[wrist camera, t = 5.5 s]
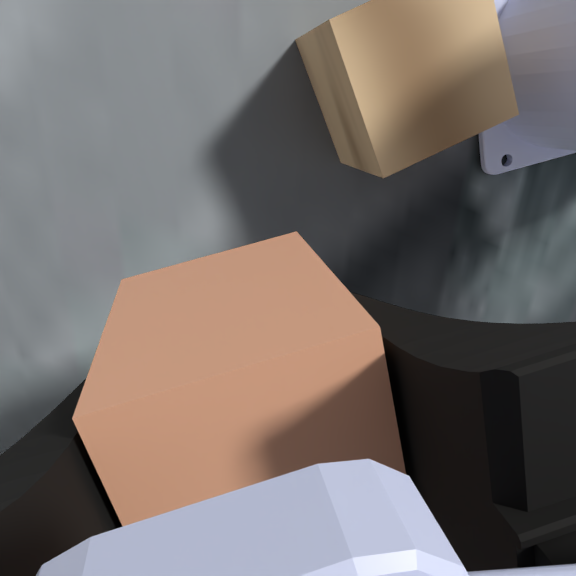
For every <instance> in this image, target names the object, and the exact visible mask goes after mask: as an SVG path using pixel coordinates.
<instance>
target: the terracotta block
mask: <svg viewBox="0 0 576 576" xmlns="http://www.w3.org/2000/svg"><path fill="white" fill-rule="evenodd" d="M72 419H73V422H74V424H75V426H76V428H77V430H78V432H79V434H80V437H81V439H82V441H83V443H84V445H85V447H86V449H87V451H88V454H89V456H90V458H91V460H92V462H93V464H94V466H95V469H96V471H97V473H98V475H99V477H100V479H101V481H102V484H103V486H104V488H105V490H106V492H107V494H108V496H109V499H110V501H111V503H112V505H113V507H114V509H115V511H116V513H117V516H118V518H119V520H120V522H121V524H122V526H126V525H129V524H132V523H135V522H139V521H142V520H145V519H148V518H151V517H154V516H157V515H160V514H163V513H166V512H170V511H173V510H176V509H179V508H182V507H185V506H188V505H191V504H194V503H197V502H201V501H204V500H207V499H210V498H213V497H216V496H219V495H222V494H225V493H228V492H232V491H235V490H238V489H241V488H244V487H247V486H250V485H253V484H256V483H259V482H263V481H266V480H269V479H272V478H275V477H278V476H281V475H284V474H287V473H290V472H294V471H297V470H300V469H303V468H306V467H309V466H312V465H315V464H320V463H330V462H341V461H351V460H361V459H371V460H373V461H376V462H378V463H380V464H383V465H385V466H387V467H390V468H392V469H394V470H397V471H399V472H401V473H404V474H406V471H405V465H404V460H403V454H402V448H401V443H400V437H399V431H398V426H397V420H396V414H395V408H394V403H393V397H392V391H391V386H390V380H389V374H388V369H387V363H386V357H385V352H384V346H383V340H382V335H381V329H380V326H379V325H378V324H377V323H376V321H375V320H374V319H373V318H372V317H371V316H370V315H369V313H368V312H367V311H366V310H365V309H364V308H363V307H362V305H361V304H360V303H359V302H358V301H357V300H356V299H355V297H354V296H353V295H352V294H351V293H350V292H349V291H348V289H347V288H346V287H345V286H344V285H343V284H342V283H341V281H340V280H339V279H338V278H337V277H336V276H335V275H334V273H333V272H332V271H331V270H330V269H329V268H328V267H327V266H326V264H325V263H324V262H323V261H322V260H321V259H320V258H319V256H318V255H317V254H316V253H315V252H314V251H313V250H312V248H311V247H310V246H309V245H308V244H307V243H306V242H305V240H304V239H303V238H302V237H301V236H300V235H299V234H298V232H297V231H296V232H292V233H289V234H285V235H282V236H278V237H274V238H271V239H267V240H263V241H260V242H256V243H252V244H249V245H245V246H242V247H238V248H234V249H231V250H227V251H223V252H220V253H216V254H212V255H209V256H205V257H202V258H198V259H194V260H191V261H187V262H183V263H180V264H176V265H172V266H169V267H165V268H162V269H158V270H154V271H151V272H147V273H143V274H140V275H136V276H133V277H129V278H125V279H122V280H121V283H120V286H119V288H118V291H117V294H116V297H115V300H114V302H113V305H112V308H111V311H110V314H109V316H108V319H107V322H106V325H105V328H104V330H103V333H102V336H101V339H100V342H99V345H98V347H97V350H96V353H95V356H94V359H93V361H92V364H91V367H90V370H89V373H88V375H87V378H86V381H85V384H84V387H83V389H82V392H81V395H80V398H79V401H78V403H77V406H76V409H75V412H74V415H73V417H72Z"/></svg>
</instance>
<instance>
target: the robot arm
mask: <svg viewBox="0 0 576 576" xmlns="http://www.w3.org/2000/svg"><path fill="white" fill-rule="evenodd" d="M494 3H495V8H496V12H497V17H498V21H499V26H500V30H501V35H502V39H503V44H504V48H505V53H506V57H507V62H508V66H509V71H510V75H511V80H512V84H513V89H514V93H515V98H516V102H517V107H518V111H519V115H517V116H515V117H513V118H511V119H509V120H506V121H504V122H502V123H500V124H498V125H496V126H494V127H492V128H489V129H487V130H485V131H483V132H481V133H479V134H478V135H479V146H480V158H481V167H482V170H483V171H484V172H485V173H487V174H491V175H497V174H501V173H504V172H508V171H511V170H515V169H519V168H522V167H526V166H530V165H533V164H537V163H540V162H544V161H548V160H551V159H555V158H559V157H562V156H566V155H569V154H573V153H576V0H494ZM504 155H506V156H507V161H506V163H505V164H504V165H502V163H501V160H502V157H503V156H504ZM351 294H352V295H353V296H354V297H355V299H356V300H357V301H358V302H359V303H360V304H361V305H362V307H363V308H364V309H365V310H366V311H367V312H368V313H369V315H370V316H371V317H372V318H373V319H374V320H375V321H376V323H377V324H378V325H379V326H380V329H381V335H382V340H383V346H384V352H385V357H386V363H387V369H388V374H389V380H390V386H391V391H392V397H393V403H394V408H395V414H396V420H397V426H398V431H399V437H400V443H401V448H402V454H403V460H404V465H405V471H406V474H404V473H401V472H399V471H397V470H394V469H392V468H390V467H387V466H385V465H383V464H380V463H378V462H376V461H373V460H371V459H361V460H351V461H341V462H330V463H320V464H315V465H312V466H309V467H306V468H303V469H300V470H297V471H294V472H290V473H287V474H284V475H281V476H278V477H275V478H272V479H269V480H266V481H263V482H259V483H256V484H253V485H250V486H247V487H244V488H241V489H238V490H235V491H232V492H228V493H225V494H222V495H219V496H216V497H213V498H210V499H207V500H204V501H201V502H197V503H194V504H191V505H188V506H185V507H182V508H179V509H176V510H173V511H170V512H166V513H163V514H160V515H157V516H154V517H151V518H148V519H145V520H142V521H139V522H135V523H132V524H129V525H126V526H122V524H121V522H120V520H119V518H118V516H117V513H116V511H115V509H114V507H113V505H112V503H111V501H110V499H109V496H108V494H107V492H106V490H105V488H104V486H103V484H102V481H101V479H100V477H99V475H98V473H97V471H96V469H95V466H94V464H93V462H92V460H91V458H90V456H89V454H88V451H87V449H86V447H85V445H84V443H83V441H82V439H81V437H80V434H79V432H78V430H77V428H76V426H75V424H74V422H73V419H72V417H73V415H74V412H75V409H76V406H77V403H78V401H79V398H80V395H81V392H82V389H83V387H84V384H85V381H86V379H85V380H84V381H83V382H82V383H81V384H80V385H79V386H78V387H77V388H76V389H75V390H74V391H73V392H72V393H71V394H70V395H69V396H68V397H67V398H66V399H65V400H63V401H62V402H61V403H60V404H59V405H58V406H57V407H56V408H55V409H54V410H53V411H52V412H51V413H50V414H49V415H47V416H46V417H45V418H44V419H43V420H42V421H41V422H40V423H39V424H37V425H36V426H35V427H34V428H33V429H32V430H31V431H30V432H28V433H27V434H26V435H25V436H24V437H23V438H22V439H20V440H19V441H18V442H17V443H16V444H14V445H13V446H12V447H11V448H9V449H8V450H7V451H6V452H4V453H3V454H2V455H0V576H576V322H564V323H545V324H511V323H488V322H476V321H467V320H460V319H452V318H446V317H440V316H435V315H430V314H426V313H421V312H417V311H413V310H409V309H405V308H402V307H398V306H395V305H391V304H388V303H385V302H382V301H378V300H375V299H372V298H369V297H366V296H362V295H359V294H355V293H351Z"/></svg>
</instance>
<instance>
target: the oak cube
mask: <svg viewBox="0 0 576 576" xmlns="http://www.w3.org/2000/svg"><path fill="white" fill-rule="evenodd" d="M295 41H296V44H297V46H298V49H299V52H300V54H301V57H302V60H303V62H304V65H305V68H306V70H307V73H308V76H309V79H310V81H311V84H312V87H313V89H314V92H315V95H316V97H317V100H318V103H319V105H320V108H321V111H322V113H323V116H324V119H325V121H326V124H327V127H328V130H329V132H330V135H331V138H332V140H333V143H334V146H335V148H336V151H337V154H338V156H339V159H340V162H341V163H343V164H345V165H348V166H351V167H354V168H356V169H359V170H362V171H365V172H367V173H370V174H373V175H376V176H378V177H381V178H385V177H388V176H390V175H392V174H394V173H396V172H398V171H400V170H402V169H405V168H407V167H409V166H411V165H413V164H415V163H417V162H419V161H422V160H424V159H426V158H428V157H430V156H432V155H434V154H436V153H438V152H441V151H443V150H445V149H447V148H449V147H451V146H453V145H455V144H458V143H460V142H462V141H464V140H466V139H468V138H470V137H472V136H475V135H477V134H479V133H481V132H483V131H485V130H487V129H489V128H492V127H494V126H496V125H498V124H500V123H502V122H504V121H506V120H509V119H511V118H513V117H515V116H517V115H519V111H518V107H517V102H516V98H515V93H514V89H513V84H512V80H511V75H510V71H509V66H508V62H507V57H506V53H505V48H504V44H503V39H502V35H501V30H500V26H499V21H498V17H497V12H496V8H495V3H494V0H371V1H369V2H367V3H364V4H362V5H360V6H358V7H356V8H353V9H351V10H349V11H347V12H345V13H343V14H340V15H338V16H336V17H334V18H332V19H330V20H328V21H326V22H324V23H323V24H321V25H319V26H318V27H316V28H314V29H313V30H311V31H309V32H308V33H306V34H304V35H303V36H301V37H299V38H297V39H296V40H295Z"/></svg>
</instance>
